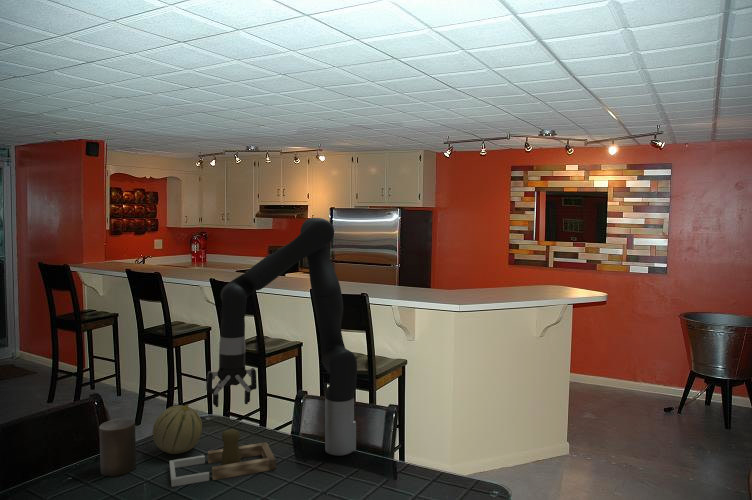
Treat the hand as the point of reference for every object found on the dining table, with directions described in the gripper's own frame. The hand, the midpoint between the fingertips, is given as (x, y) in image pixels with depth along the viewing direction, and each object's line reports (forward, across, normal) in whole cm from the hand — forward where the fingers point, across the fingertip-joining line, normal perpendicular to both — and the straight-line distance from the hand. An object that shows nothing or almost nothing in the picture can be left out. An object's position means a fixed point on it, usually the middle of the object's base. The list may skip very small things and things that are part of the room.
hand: (231, 404), depth 162 cm
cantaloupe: (+19, +14, -17) cm, 29 cm away
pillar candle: (+20, +31, -11) cm, 38 cm away
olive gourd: (+19, 0, 0) cm, 19 cm away
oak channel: (+19, -3, 0) cm, 19 cm away
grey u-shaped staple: (+19, +11, 0) cm, 22 cm away
